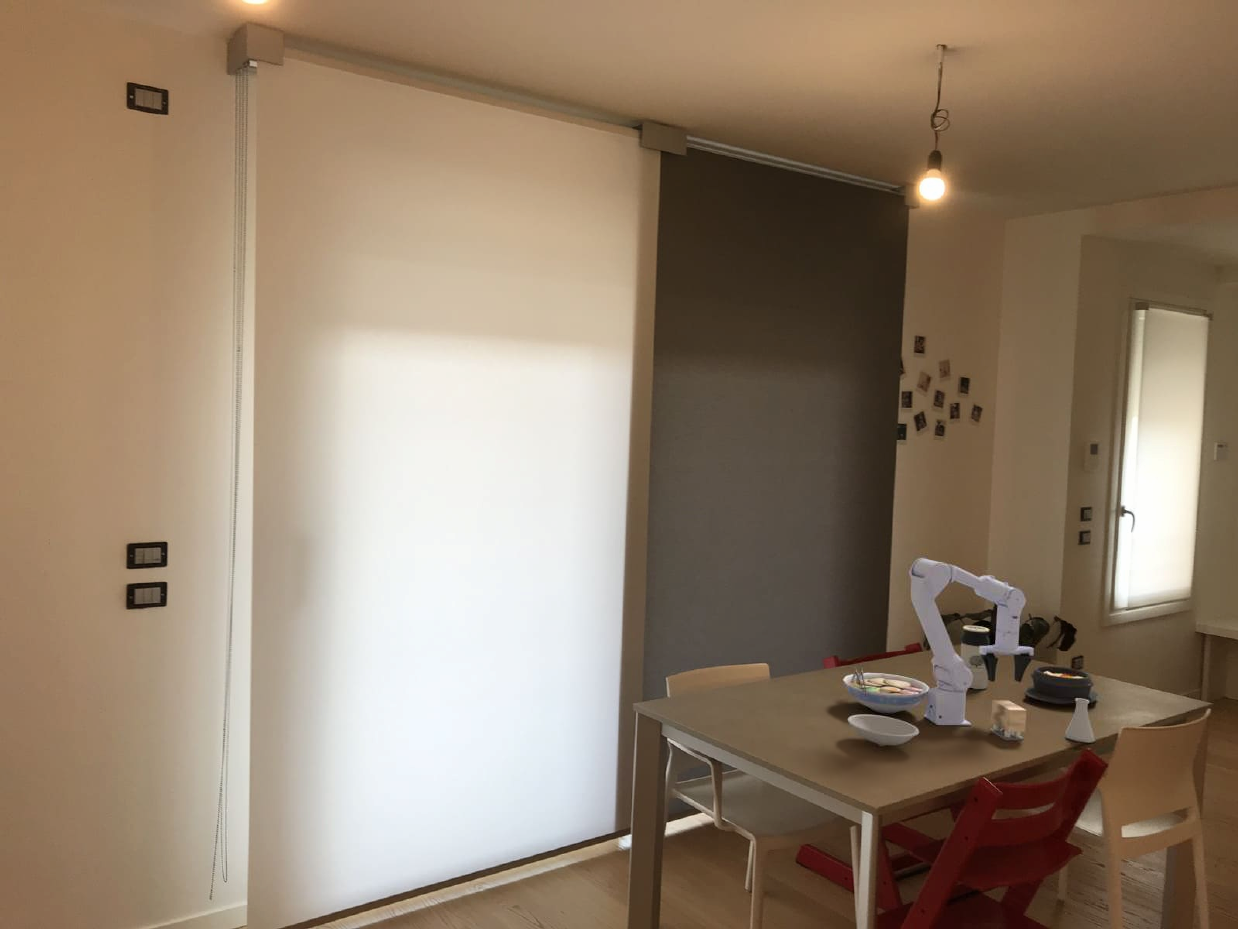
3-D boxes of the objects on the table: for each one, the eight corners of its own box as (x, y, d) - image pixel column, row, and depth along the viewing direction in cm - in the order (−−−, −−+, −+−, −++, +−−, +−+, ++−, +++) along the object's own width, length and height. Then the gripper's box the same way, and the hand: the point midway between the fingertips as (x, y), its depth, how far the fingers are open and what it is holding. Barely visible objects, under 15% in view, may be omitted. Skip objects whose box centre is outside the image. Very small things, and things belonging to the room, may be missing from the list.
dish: (833, 740, 231) (834, 720, 231) (868, 730, 240) (869, 711, 240) (896, 761, 218) (897, 740, 218) (930, 750, 227) (931, 729, 227)
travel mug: (960, 681, 295) (963, 624, 294) (987, 685, 291) (991, 627, 291) (957, 687, 287) (960, 628, 287) (985, 691, 284) (988, 632, 283)
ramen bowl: (933, 727, 245) (935, 696, 245) (843, 718, 250) (844, 688, 249) (922, 701, 269) (924, 673, 269) (840, 694, 274) (841, 666, 274)
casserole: (1068, 714, 263) (1070, 684, 263) (1007, 697, 278) (1009, 669, 278) (1113, 702, 278) (1115, 674, 278) (1053, 687, 293) (1054, 660, 293)
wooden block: (991, 721, 245) (992, 700, 245) (1007, 721, 245) (1008, 700, 245) (1008, 731, 236) (1009, 710, 236) (1025, 731, 237) (1026, 710, 237)
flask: (1068, 732, 246) (1070, 694, 246) (1098, 739, 242) (1101, 700, 241) (1060, 738, 241) (1063, 699, 240) (1091, 745, 236) (1094, 705, 236)
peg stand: (1005, 740, 237) (1005, 730, 237) (989, 730, 245) (990, 721, 244) (1023, 740, 238) (1024, 730, 238) (1007, 730, 245) (1008, 721, 245)
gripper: (989, 633, 250) (986, 684, 250) (1041, 634, 252) (1038, 685, 252) (976, 628, 257) (973, 677, 257) (1026, 629, 259) (1023, 678, 259)
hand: (1004, 681), depth 255 cm, fingers open, 7 cm apart
